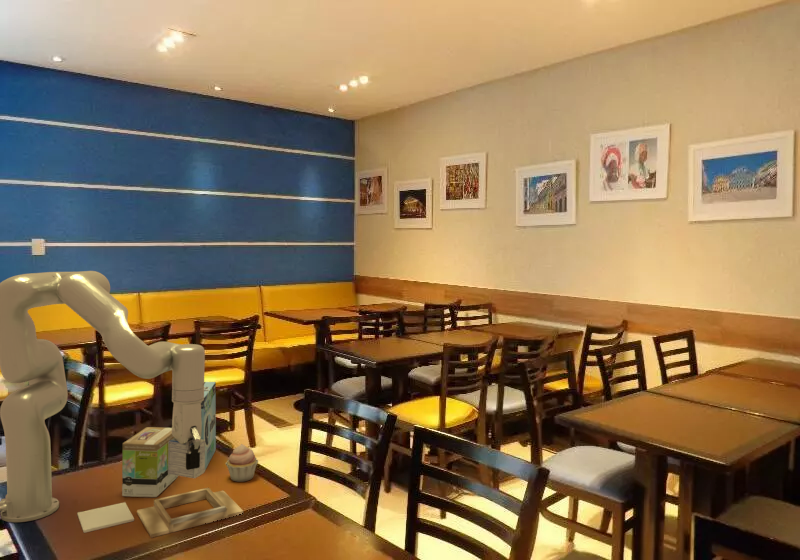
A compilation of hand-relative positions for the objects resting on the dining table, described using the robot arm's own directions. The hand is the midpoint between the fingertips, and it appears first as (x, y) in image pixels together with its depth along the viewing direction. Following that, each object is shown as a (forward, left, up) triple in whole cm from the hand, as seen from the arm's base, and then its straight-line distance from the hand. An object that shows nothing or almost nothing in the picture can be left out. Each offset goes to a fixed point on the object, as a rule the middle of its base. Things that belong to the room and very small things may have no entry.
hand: (187, 462), depth 151 cm
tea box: (-3, +23, -14) cm, 27 cm away
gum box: (+14, +34, -14) cm, 39 cm away
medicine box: (0, 0, -3) cm, 3 cm away
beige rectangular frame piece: (+1, 0, -13) cm, 13 cm away
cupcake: (+20, +15, -14) cm, 28 cm away
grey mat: (-17, +9, -13) cm, 24 cm away
